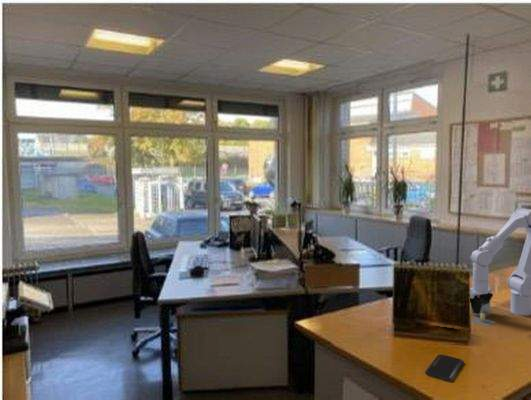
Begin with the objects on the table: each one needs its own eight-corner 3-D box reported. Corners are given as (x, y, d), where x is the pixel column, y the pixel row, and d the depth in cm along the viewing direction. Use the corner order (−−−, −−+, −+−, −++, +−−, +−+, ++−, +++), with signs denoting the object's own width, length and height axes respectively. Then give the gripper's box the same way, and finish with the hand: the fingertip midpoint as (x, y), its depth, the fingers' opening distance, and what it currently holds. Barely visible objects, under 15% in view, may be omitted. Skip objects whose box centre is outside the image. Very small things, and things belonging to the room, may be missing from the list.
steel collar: (477, 310, 173) (477, 298, 173) (490, 314, 169) (490, 302, 168) (469, 313, 170) (470, 301, 170) (482, 317, 166) (483, 305, 165)
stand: (476, 312, 174) (476, 305, 173) (491, 316, 169) (491, 309, 168) (468, 315, 170) (468, 308, 170) (483, 319, 165) (483, 312, 165)
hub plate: (478, 319, 166) (478, 309, 166) (496, 324, 160) (496, 314, 160) (469, 323, 162) (469, 313, 162) (486, 328, 157) (486, 318, 156)
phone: (464, 360, 131) (451, 379, 119) (464, 363, 131) (451, 383, 119) (438, 353, 136) (423, 371, 124) (438, 356, 136) (423, 375, 124)
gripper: (480, 274, 175) (480, 305, 177) (461, 280, 167) (460, 312, 169) (497, 277, 170) (496, 309, 171) (478, 284, 162) (477, 317, 163)
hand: (479, 311), depth 169 cm, fingers closed on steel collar, 5 cm apart
